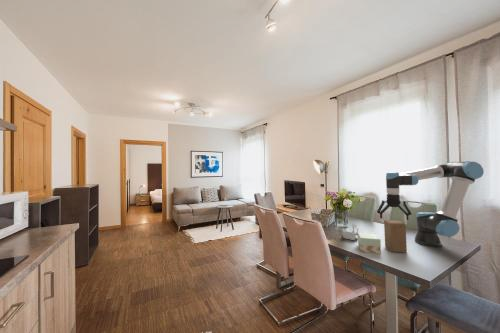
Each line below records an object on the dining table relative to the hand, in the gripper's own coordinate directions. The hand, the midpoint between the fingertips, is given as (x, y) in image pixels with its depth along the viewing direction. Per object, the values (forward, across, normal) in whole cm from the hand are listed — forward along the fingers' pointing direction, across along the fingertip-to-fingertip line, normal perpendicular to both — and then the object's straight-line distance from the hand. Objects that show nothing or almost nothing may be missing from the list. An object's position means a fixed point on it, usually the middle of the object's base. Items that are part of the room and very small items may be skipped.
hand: (393, 223), depth 144 cm
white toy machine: (+19, +25, -21) cm, 37 cm away
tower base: (+19, +17, +4) cm, 25 cm away
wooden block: (+19, 0, 0) cm, 19 cm away
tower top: (+14, +17, +4) cm, 22 cm away
